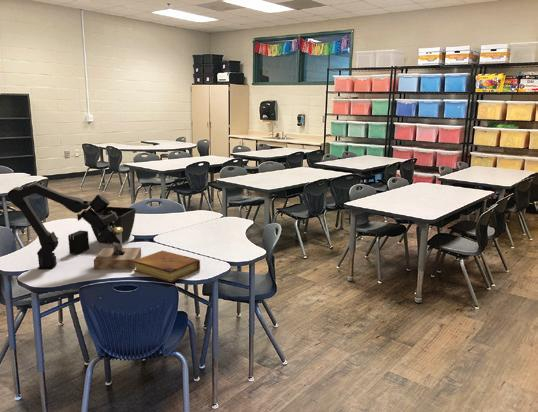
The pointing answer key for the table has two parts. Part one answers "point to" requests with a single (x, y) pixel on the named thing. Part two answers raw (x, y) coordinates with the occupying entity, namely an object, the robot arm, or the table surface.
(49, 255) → the robot arm
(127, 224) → the flower pot
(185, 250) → the table surface
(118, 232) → the pin
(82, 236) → the electronic device
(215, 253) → the table surface
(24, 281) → the table surface
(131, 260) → the socket block
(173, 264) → the diary
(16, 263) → the table surface
